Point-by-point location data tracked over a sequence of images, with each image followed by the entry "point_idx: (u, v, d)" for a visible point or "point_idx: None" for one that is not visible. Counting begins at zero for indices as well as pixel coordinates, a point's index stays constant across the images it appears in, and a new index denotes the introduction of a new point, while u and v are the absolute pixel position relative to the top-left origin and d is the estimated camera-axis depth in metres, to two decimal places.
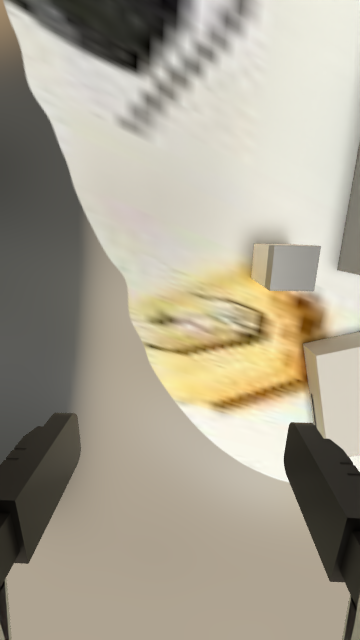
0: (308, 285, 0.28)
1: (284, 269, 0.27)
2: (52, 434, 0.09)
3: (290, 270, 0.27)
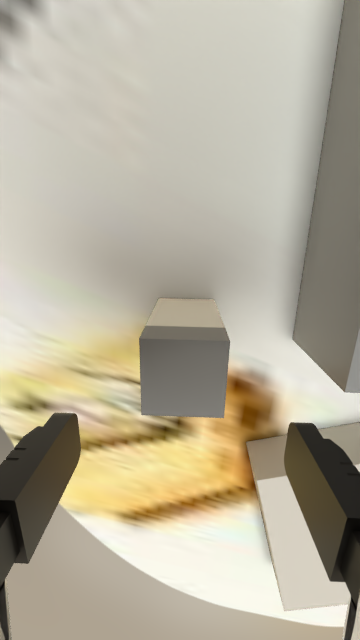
0: (212, 408, 0.15)
1: (164, 381, 0.14)
2: (52, 434, 0.09)
3: (175, 383, 0.14)
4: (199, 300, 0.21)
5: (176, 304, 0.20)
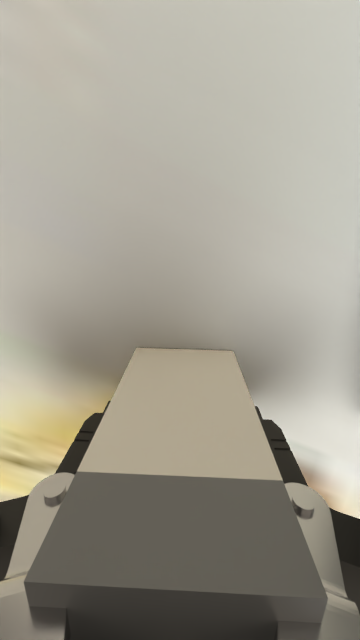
0: None
1: None
2: None
3: None
4: (207, 354, 0.12)
5: (165, 368, 0.11)
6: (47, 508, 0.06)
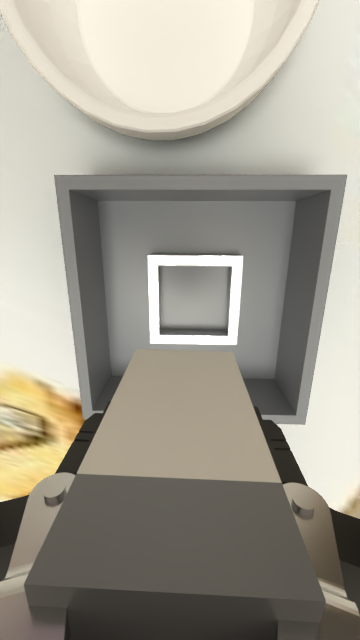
0: None
1: None
2: None
3: None
4: (207, 355, 0.12)
5: (165, 369, 0.11)
6: (47, 508, 0.06)
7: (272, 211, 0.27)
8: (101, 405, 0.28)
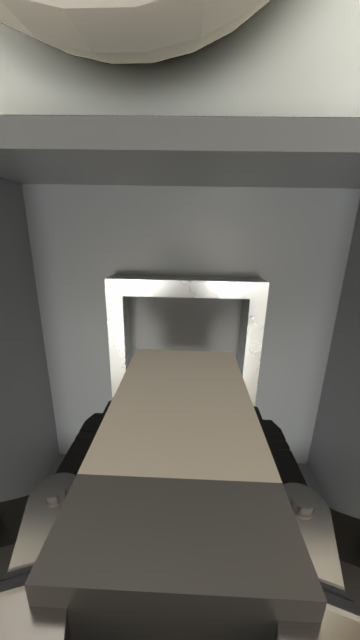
0: None
1: None
2: None
3: None
4: (207, 355, 0.12)
5: (165, 369, 0.11)
6: (47, 508, 0.06)
7: (319, 206, 0.16)
8: None
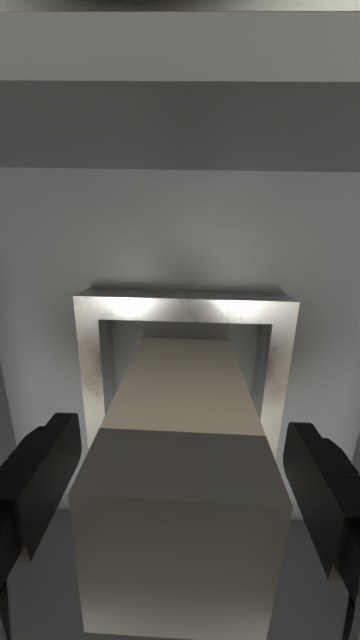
0: (241, 627, 0.07)
1: (132, 576, 0.06)
2: (53, 434, 0.09)
3: (159, 581, 0.06)
4: (206, 343, 0.13)
5: (169, 353, 0.12)
6: None
7: None
8: None
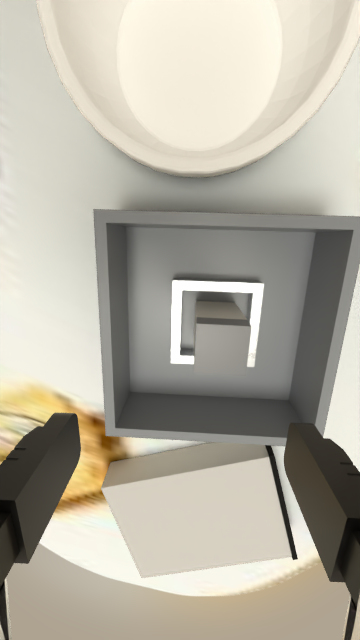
0: (239, 369, 0.23)
1: (209, 350, 0.23)
2: (52, 434, 0.09)
3: (217, 352, 0.23)
4: (225, 303, 0.30)
5: (210, 305, 0.29)
6: None
7: (292, 241, 0.29)
8: (123, 422, 0.29)
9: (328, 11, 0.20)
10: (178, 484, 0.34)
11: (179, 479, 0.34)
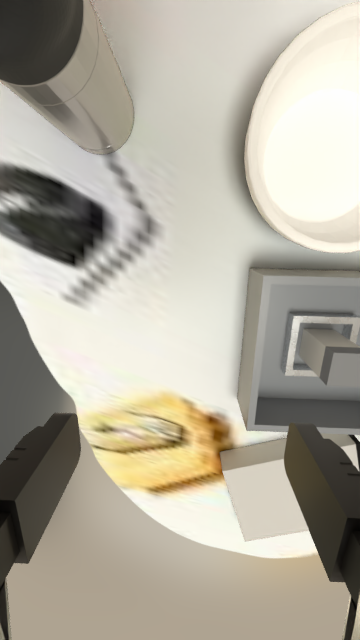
0: (359, 383, 0.34)
1: (340, 370, 0.33)
2: (52, 434, 0.09)
3: (345, 371, 0.33)
4: (327, 330, 0.41)
5: (319, 333, 0.39)
6: None
7: None
8: (257, 420, 0.39)
9: None
10: (283, 466, 0.45)
11: None
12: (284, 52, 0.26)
